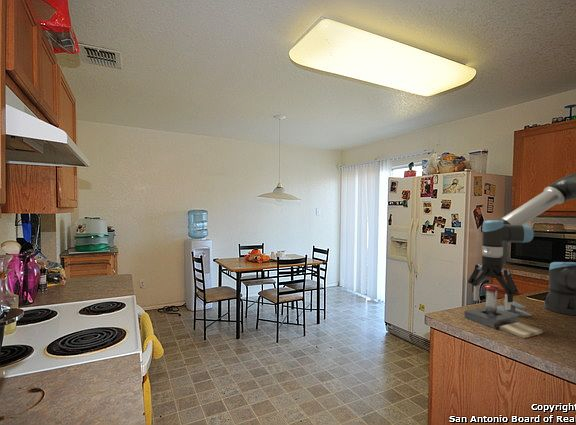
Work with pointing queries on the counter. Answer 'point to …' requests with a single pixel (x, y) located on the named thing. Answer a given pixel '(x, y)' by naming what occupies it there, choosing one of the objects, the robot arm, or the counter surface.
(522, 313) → the shower valve
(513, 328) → the birch pad
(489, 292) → the red mushroom button
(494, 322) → the eye plate
